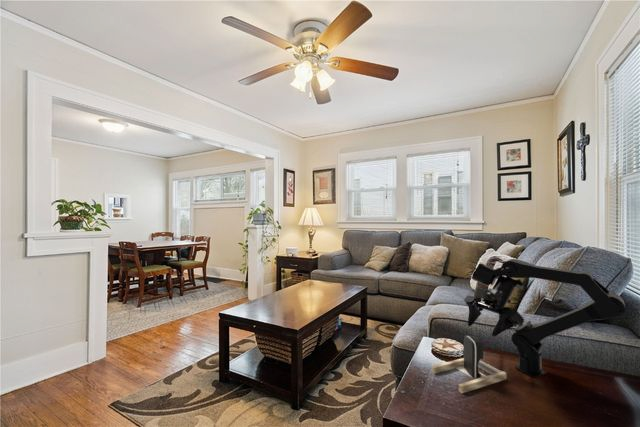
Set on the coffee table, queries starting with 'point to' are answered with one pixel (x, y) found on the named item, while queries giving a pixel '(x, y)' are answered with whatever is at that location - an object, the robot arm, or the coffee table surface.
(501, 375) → the guide channel
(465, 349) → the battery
